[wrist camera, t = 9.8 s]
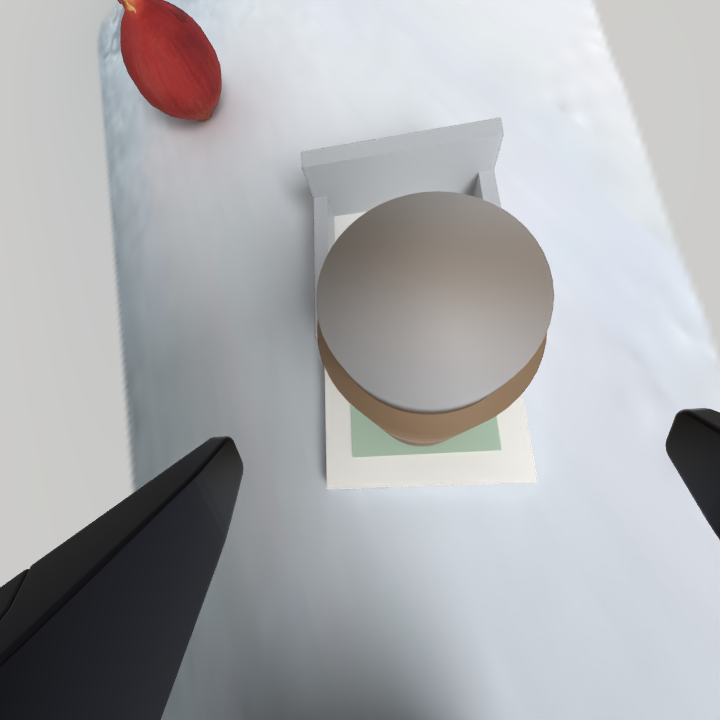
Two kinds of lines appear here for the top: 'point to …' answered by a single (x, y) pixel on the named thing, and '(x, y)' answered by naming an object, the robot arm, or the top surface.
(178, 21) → the onion
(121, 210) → the top surface
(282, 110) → the top surface
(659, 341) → the top surface
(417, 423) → the pepper mill
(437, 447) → the lane rack
